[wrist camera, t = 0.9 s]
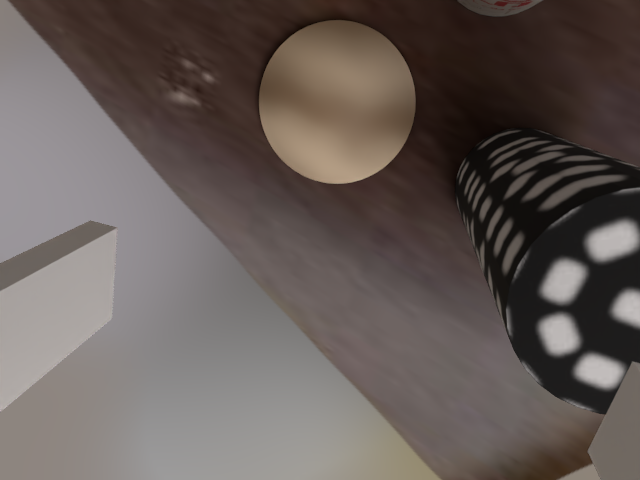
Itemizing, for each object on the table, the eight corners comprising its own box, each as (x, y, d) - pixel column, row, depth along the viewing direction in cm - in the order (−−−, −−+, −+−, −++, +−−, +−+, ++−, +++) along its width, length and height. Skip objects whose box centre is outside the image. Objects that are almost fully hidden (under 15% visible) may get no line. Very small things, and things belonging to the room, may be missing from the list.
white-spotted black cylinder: (436, 220, 37) (466, 365, 18) (484, 110, 34) (578, 147, 15) (544, 260, 37) (690, 450, 18) (602, 152, 34) (846, 242, 15)
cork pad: (262, 19, 35) (259, 17, 34) (423, 23, 33) (423, 22, 32) (261, 176, 38) (258, 178, 37) (407, 186, 37) (407, 189, 36)
